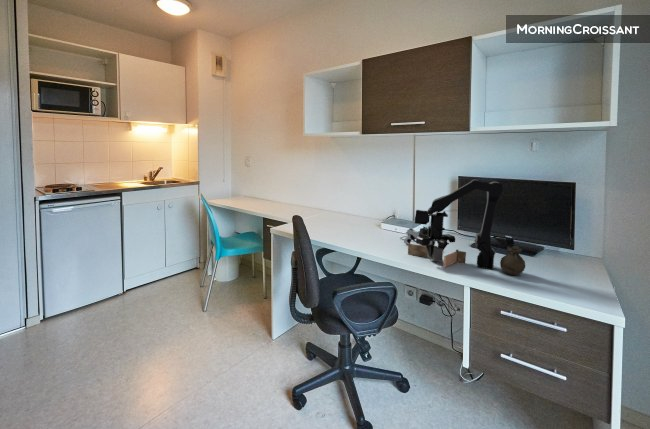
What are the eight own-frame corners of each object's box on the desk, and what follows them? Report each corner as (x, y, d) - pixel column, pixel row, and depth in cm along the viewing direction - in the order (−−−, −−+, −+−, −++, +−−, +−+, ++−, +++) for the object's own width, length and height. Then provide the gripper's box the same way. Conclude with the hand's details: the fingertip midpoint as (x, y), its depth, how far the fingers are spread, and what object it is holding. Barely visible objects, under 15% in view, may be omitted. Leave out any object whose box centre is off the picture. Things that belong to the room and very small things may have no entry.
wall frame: (465, 262, 166) (466, 250, 165) (464, 263, 164) (465, 251, 163) (408, 253, 180) (409, 242, 179) (407, 254, 179) (408, 243, 177)
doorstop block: (426, 257, 169) (427, 246, 168) (434, 256, 171) (435, 245, 170) (434, 260, 164) (435, 249, 163) (442, 260, 165) (443, 248, 164)
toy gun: (428, 256, 188) (435, 240, 185) (402, 242, 197) (407, 227, 194) (430, 255, 190) (436, 239, 186) (403, 242, 199) (409, 226, 195)
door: (454, 261, 167) (455, 251, 166) (456, 261, 166) (457, 251, 165) (443, 266, 159) (444, 256, 158) (445, 267, 159) (446, 256, 158)
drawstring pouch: (515, 269, 156) (518, 244, 154) (529, 277, 147) (532, 250, 145) (495, 270, 156) (497, 244, 154) (506, 277, 147) (509, 250, 144)
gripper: (442, 220, 175) (440, 250, 177) (410, 223, 169) (408, 253, 172) (457, 225, 164) (454, 256, 167) (423, 227, 158) (421, 260, 161)
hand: (434, 256), depth 167 cm, fingers closed on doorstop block, 4 cm apart
